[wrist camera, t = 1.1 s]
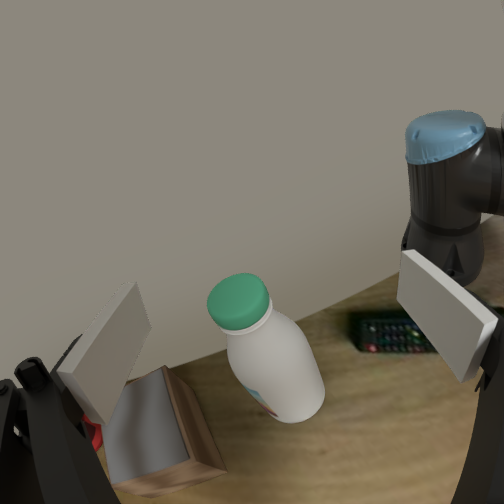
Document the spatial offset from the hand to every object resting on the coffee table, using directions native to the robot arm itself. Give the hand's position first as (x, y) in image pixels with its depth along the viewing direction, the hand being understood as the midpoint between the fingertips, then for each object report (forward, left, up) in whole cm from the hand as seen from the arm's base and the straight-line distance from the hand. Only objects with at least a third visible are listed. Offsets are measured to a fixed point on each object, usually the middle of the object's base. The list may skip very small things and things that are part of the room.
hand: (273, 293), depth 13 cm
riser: (+19, -8, -24) cm, 32 cm away
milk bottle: (+1, -6, -24) cm, 25 cm away
